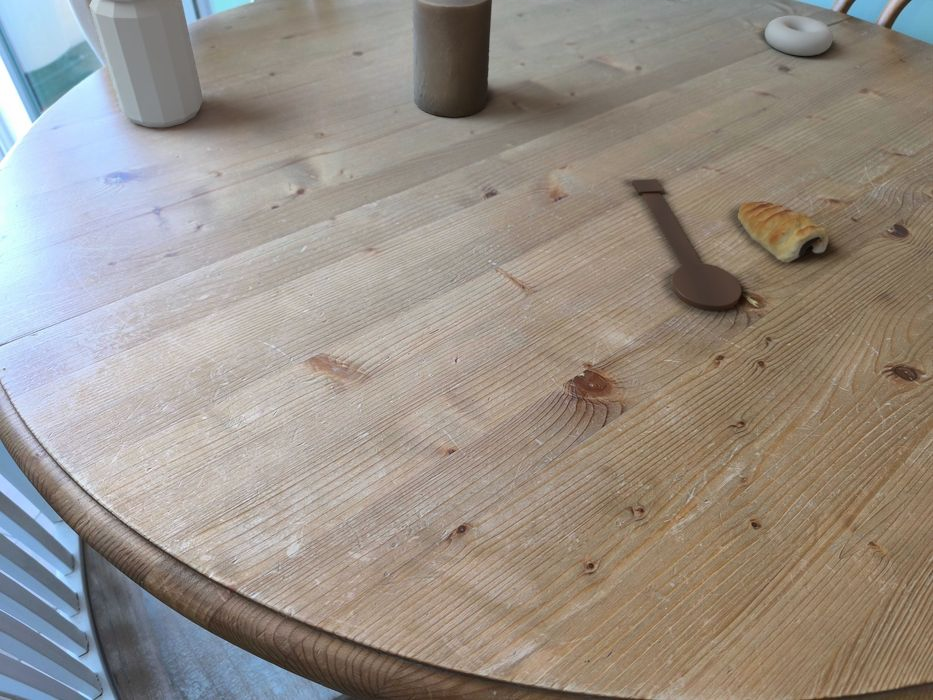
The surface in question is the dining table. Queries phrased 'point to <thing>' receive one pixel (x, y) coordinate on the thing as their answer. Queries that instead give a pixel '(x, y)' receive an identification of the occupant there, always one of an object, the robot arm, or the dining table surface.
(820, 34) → the donut
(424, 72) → the pillar candle
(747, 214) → the pastry
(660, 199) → the spoon
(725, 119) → the dining table surface
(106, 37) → the jar
